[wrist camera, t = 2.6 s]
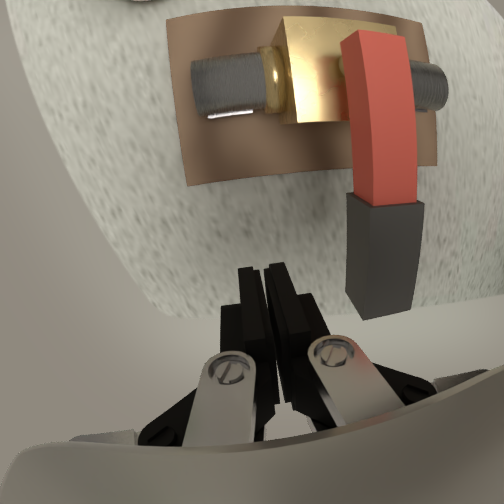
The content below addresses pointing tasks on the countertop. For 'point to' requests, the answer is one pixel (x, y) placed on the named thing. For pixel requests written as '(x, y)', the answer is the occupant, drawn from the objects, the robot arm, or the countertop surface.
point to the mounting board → (258, 123)
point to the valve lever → (381, 175)
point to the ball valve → (298, 75)
